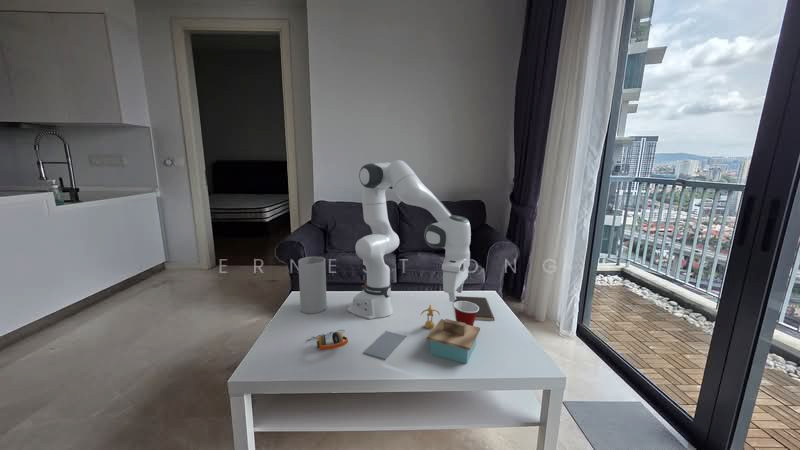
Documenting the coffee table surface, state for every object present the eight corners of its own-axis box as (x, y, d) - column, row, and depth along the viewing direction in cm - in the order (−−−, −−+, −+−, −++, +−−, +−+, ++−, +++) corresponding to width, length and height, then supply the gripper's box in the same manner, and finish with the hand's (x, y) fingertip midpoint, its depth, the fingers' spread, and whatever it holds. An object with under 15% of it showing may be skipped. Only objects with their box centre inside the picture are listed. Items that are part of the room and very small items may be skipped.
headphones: (342, 322, 141) (357, 333, 123) (343, 335, 141) (358, 347, 123) (302, 332, 133) (313, 344, 115) (303, 344, 133) (314, 359, 115)
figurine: (438, 327, 143) (439, 301, 141) (440, 333, 137) (441, 307, 135) (419, 326, 143) (420, 301, 141) (420, 333, 137) (421, 307, 135)
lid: (426, 339, 120) (427, 326, 119) (441, 321, 134) (441, 309, 133) (469, 350, 113) (470, 337, 112) (479, 329, 127) (480, 318, 126)
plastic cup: (478, 339, 133) (479, 312, 131) (451, 336, 135) (452, 309, 133) (477, 326, 144) (479, 301, 142) (452, 324, 146) (453, 299, 144)
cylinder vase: (327, 302, 167) (326, 256, 163) (325, 313, 155) (323, 263, 151) (302, 304, 166) (300, 256, 161) (298, 315, 154) (296, 264, 149)
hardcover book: (459, 320, 151) (459, 315, 151) (455, 300, 174) (455, 296, 173) (494, 321, 150) (494, 317, 149) (486, 301, 172) (486, 297, 172)
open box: (429, 355, 121) (430, 338, 120) (442, 338, 134) (442, 322, 132) (466, 366, 115) (467, 348, 114) (475, 346, 128) (476, 330, 126)
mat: (363, 353, 122) (363, 352, 122) (386, 332, 138) (386, 330, 138) (411, 368, 114) (411, 366, 114) (430, 343, 130) (430, 342, 130)
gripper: (457, 252, 129) (455, 286, 131) (440, 266, 111) (439, 304, 113) (472, 254, 126) (471, 288, 128) (458, 269, 108) (456, 308, 110)
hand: (456, 296), depth 120 cm, fingers open, 8 cm apart
